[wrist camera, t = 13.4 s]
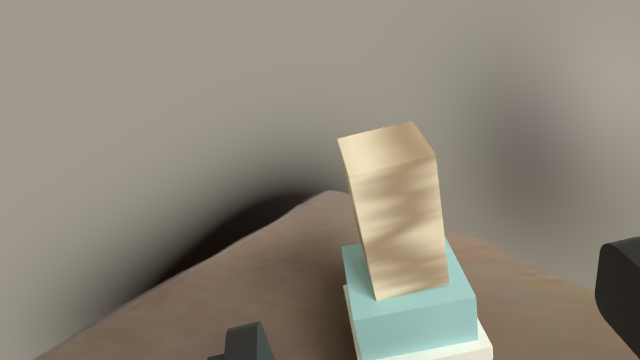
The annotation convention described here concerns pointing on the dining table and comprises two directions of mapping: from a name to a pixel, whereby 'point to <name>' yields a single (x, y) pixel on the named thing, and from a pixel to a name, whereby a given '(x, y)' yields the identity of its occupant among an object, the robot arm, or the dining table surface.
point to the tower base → (465, 356)
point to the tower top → (409, 311)
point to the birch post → (396, 208)
